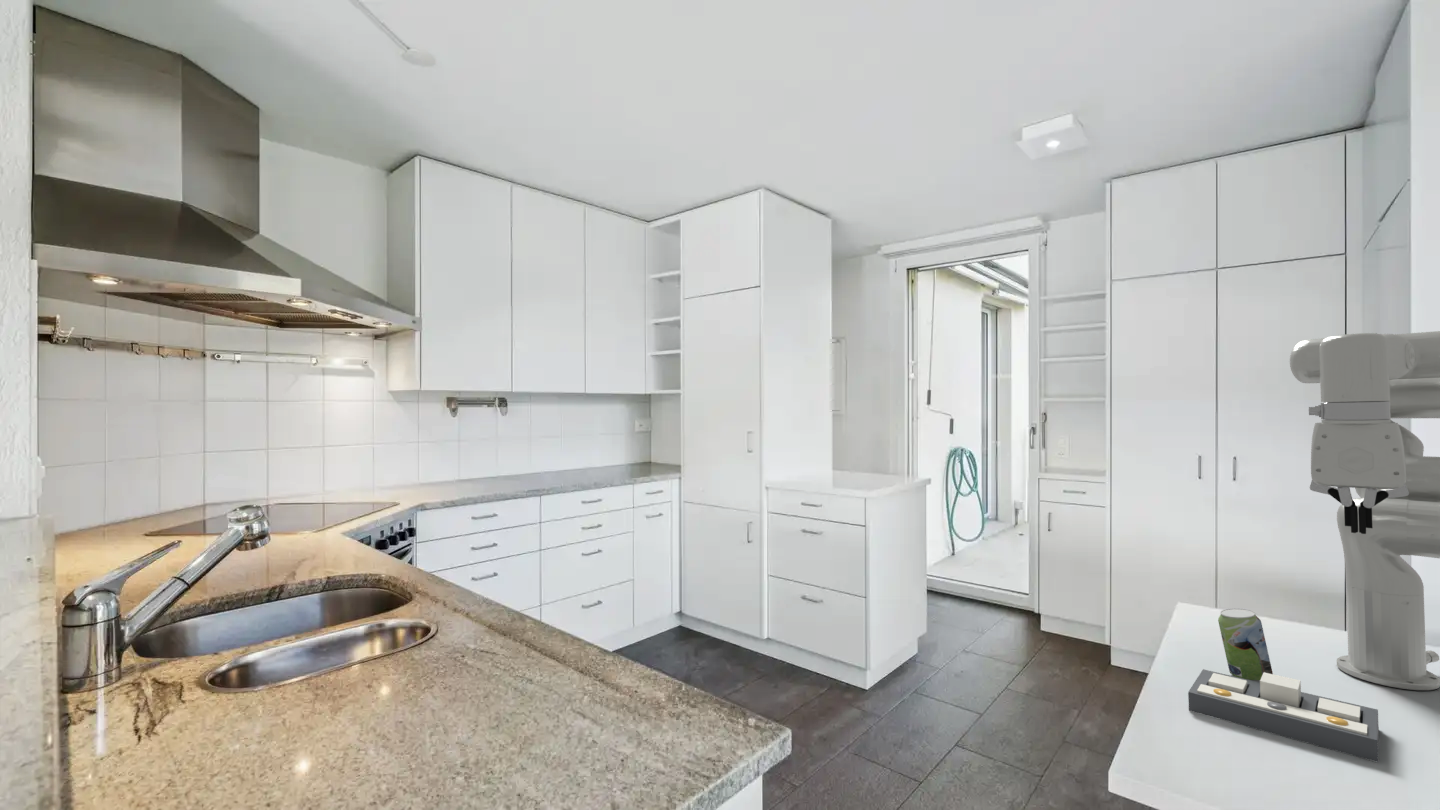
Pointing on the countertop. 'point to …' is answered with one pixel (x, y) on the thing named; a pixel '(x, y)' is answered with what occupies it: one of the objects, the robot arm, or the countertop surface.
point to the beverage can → (1244, 644)
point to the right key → (1339, 709)
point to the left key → (1228, 683)
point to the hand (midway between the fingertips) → (1358, 531)
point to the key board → (1288, 717)
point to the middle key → (1280, 689)
